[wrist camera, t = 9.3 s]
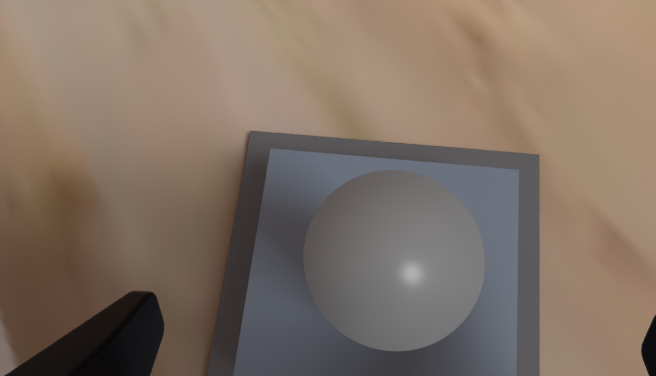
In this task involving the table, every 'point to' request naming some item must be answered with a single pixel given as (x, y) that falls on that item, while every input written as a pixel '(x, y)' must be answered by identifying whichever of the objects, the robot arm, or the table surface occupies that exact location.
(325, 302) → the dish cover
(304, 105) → the table surface
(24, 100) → the table surface
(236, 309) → the rubber mat
